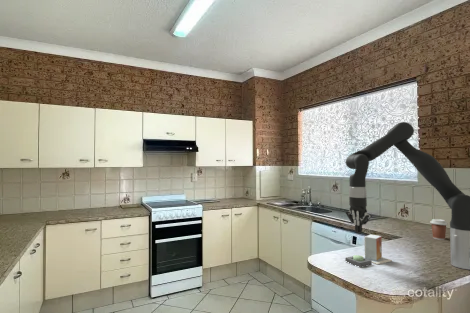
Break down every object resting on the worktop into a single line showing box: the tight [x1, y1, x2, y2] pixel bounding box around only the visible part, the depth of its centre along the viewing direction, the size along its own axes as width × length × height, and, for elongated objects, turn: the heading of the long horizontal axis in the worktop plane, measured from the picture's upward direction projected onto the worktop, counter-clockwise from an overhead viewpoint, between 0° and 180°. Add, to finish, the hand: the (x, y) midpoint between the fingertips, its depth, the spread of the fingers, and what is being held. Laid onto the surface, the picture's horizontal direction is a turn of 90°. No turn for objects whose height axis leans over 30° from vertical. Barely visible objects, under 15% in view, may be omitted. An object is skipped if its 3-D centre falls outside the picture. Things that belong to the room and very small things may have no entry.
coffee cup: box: [429, 218, 449, 241], centre depth 177 cm, size 9×9×12 cm
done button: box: [352, 254, 363, 261], centre depth 129 cm, size 4×4×2 cm
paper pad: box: [363, 256, 393, 266], centre depth 134 cm, size 11×11×1 cm
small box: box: [364, 233, 383, 261], centre depth 135 cm, size 8×6×10 cm
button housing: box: [344, 255, 373, 268], centre depth 129 cm, size 8×8×2 cm
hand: (358, 233), depth 129 cm, fingers closed
